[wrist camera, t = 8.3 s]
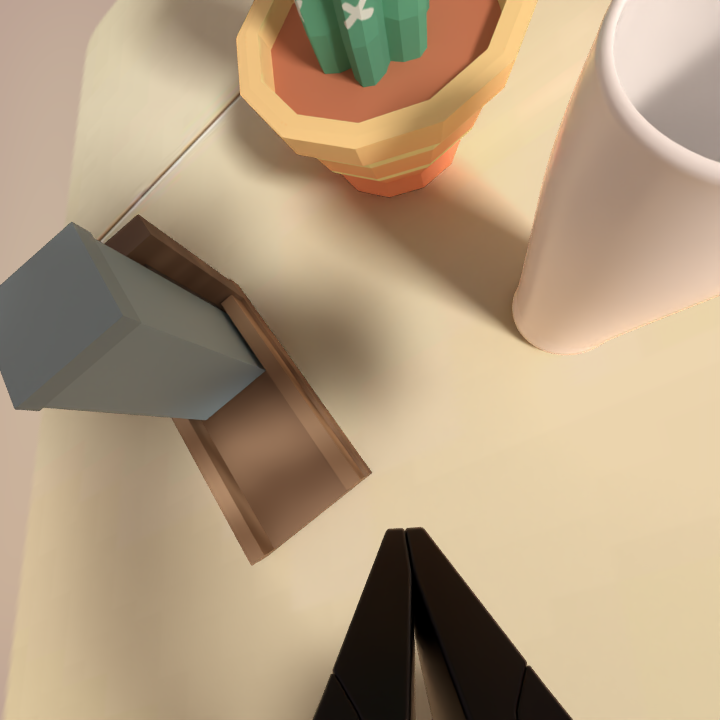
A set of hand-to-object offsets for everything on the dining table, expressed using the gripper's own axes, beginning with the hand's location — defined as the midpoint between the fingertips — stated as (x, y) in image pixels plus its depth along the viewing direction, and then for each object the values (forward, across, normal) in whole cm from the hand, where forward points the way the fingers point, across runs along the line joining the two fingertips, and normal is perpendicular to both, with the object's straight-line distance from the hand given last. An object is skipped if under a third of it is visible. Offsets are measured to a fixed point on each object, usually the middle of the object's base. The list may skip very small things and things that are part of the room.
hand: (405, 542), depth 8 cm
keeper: (+16, +10, 0) cm, 19 cm away
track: (+15, +8, +3) cm, 17 cm away
